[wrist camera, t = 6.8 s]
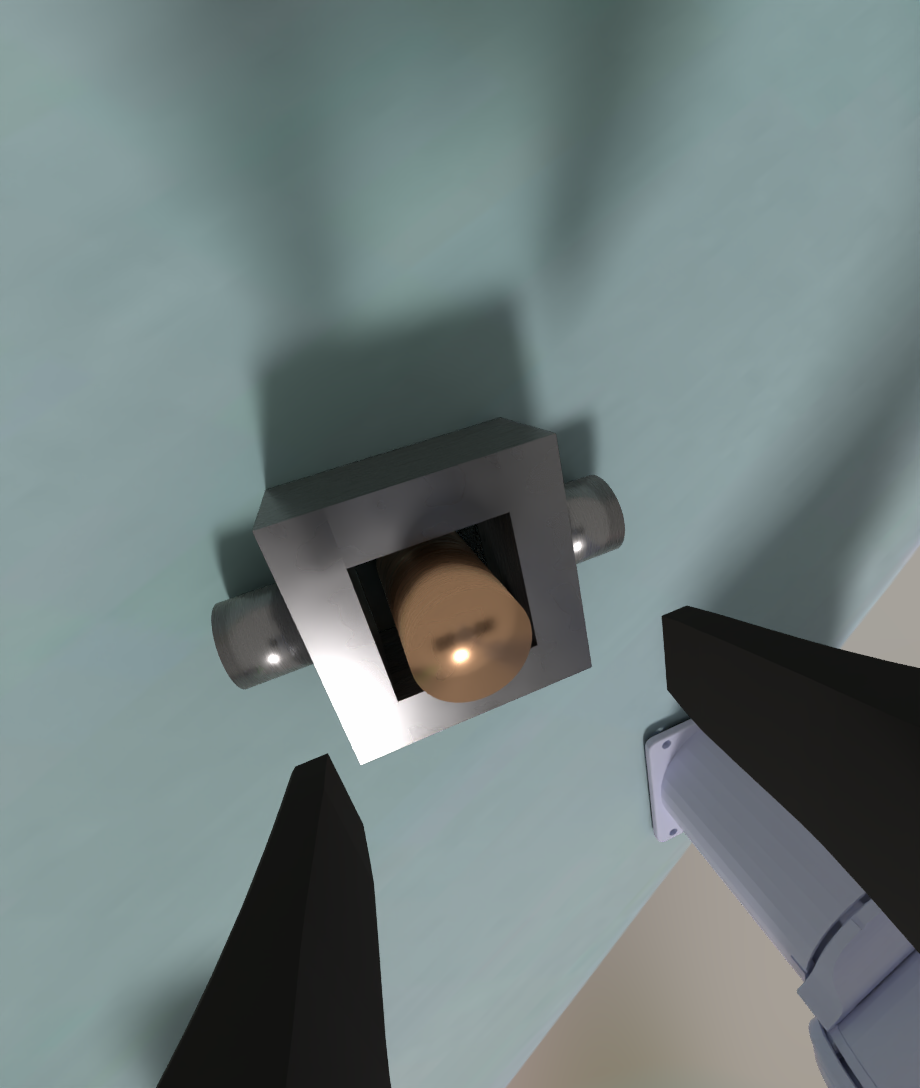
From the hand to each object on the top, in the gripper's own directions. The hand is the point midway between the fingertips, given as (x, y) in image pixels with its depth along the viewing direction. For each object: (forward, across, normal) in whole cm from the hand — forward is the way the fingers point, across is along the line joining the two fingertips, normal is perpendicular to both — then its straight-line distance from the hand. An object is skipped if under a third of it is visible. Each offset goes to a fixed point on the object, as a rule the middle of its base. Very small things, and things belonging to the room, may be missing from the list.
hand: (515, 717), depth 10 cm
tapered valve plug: (+8, 0, 0) cm, 9 cm away
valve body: (+8, 0, 0) cm, 9 cm away
